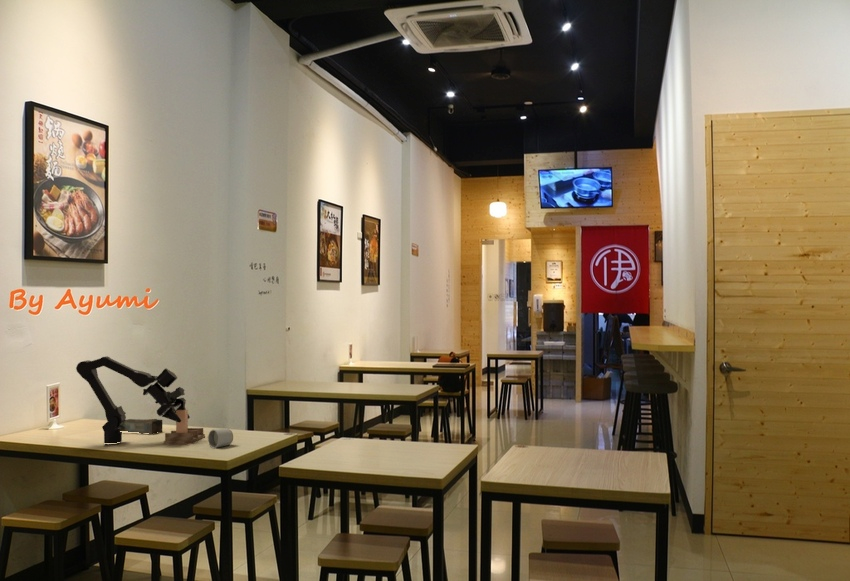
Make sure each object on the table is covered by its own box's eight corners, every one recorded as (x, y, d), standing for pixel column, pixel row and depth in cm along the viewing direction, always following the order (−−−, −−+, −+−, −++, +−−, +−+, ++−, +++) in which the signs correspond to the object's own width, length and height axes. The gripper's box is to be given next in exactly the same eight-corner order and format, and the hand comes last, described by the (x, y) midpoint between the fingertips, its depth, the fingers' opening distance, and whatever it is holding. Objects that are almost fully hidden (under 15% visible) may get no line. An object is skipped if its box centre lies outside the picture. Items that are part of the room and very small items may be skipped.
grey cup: (234, 445, 294) (234, 427, 294) (218, 449, 288) (217, 430, 288) (219, 443, 301) (219, 425, 301) (203, 446, 294) (203, 428, 295)
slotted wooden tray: (163, 443, 301) (163, 434, 301) (179, 436, 317) (178, 427, 317) (190, 443, 300) (190, 434, 300) (204, 436, 316) (204, 427, 316)
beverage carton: (129, 430, 336) (129, 417, 336) (163, 432, 331) (163, 418, 331) (117, 434, 328) (117, 420, 328) (153, 435, 323) (152, 421, 323)
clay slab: (176, 439, 304) (176, 410, 304) (179, 438, 307) (178, 409, 307) (185, 439, 304) (185, 410, 304) (187, 438, 307) (187, 409, 307)
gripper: (163, 384, 297) (188, 410, 296) (181, 379, 315) (205, 403, 314) (145, 403, 297) (171, 428, 296) (164, 397, 316) (188, 421, 315)
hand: (184, 419), depth 305 cm, fingers open, 9 cm apart
